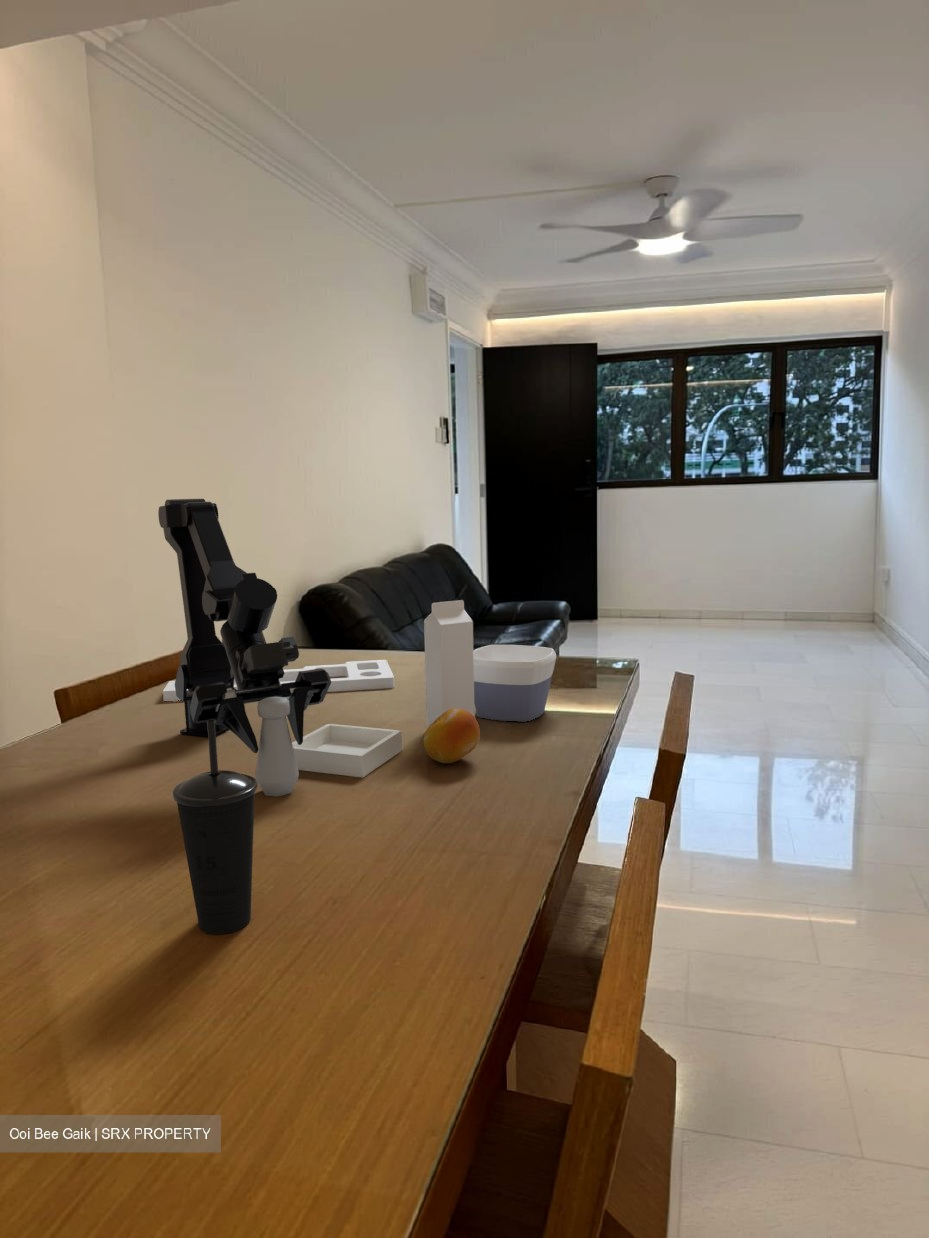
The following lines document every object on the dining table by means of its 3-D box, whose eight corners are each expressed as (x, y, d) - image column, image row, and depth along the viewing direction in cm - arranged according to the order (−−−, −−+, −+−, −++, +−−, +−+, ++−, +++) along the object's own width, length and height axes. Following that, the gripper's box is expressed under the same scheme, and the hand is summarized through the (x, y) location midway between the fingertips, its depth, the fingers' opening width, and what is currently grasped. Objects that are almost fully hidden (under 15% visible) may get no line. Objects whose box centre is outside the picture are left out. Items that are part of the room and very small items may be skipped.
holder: (163, 704, 168) (162, 691, 167) (176, 683, 185) (175, 671, 185) (394, 690, 176) (394, 677, 175) (386, 671, 193) (386, 659, 193)
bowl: (455, 721, 151) (453, 658, 149) (486, 699, 165) (485, 642, 163) (539, 729, 145) (539, 664, 143) (564, 706, 159) (564, 647, 157)
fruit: (412, 760, 130) (411, 709, 128) (458, 749, 135) (457, 699, 134) (446, 775, 123) (444, 721, 122) (492, 762, 128) (491, 710, 127)
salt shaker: (289, 800, 115) (284, 705, 113) (249, 797, 116) (243, 703, 114) (306, 784, 120) (301, 694, 118) (267, 782, 121) (262, 692, 119)
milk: (475, 734, 143) (473, 602, 139) (442, 739, 140) (440, 605, 136) (457, 725, 148) (455, 597, 144) (425, 730, 145) (423, 600, 142)
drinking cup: (193, 904, 87) (178, 711, 83) (270, 900, 87) (259, 708, 84) (174, 945, 79) (157, 734, 76) (259, 939, 80) (246, 730, 77)
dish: (284, 768, 127) (283, 747, 127) (329, 742, 139) (328, 723, 139) (362, 777, 123) (361, 755, 122) (402, 750, 135) (401, 730, 134)
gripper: (189, 626, 113) (219, 727, 105) (323, 612, 122) (359, 704, 115) (178, 674, 121) (205, 771, 113) (305, 657, 130) (337, 746, 123)
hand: (279, 747), depth 116 cm, fingers open, 6 cm apart
